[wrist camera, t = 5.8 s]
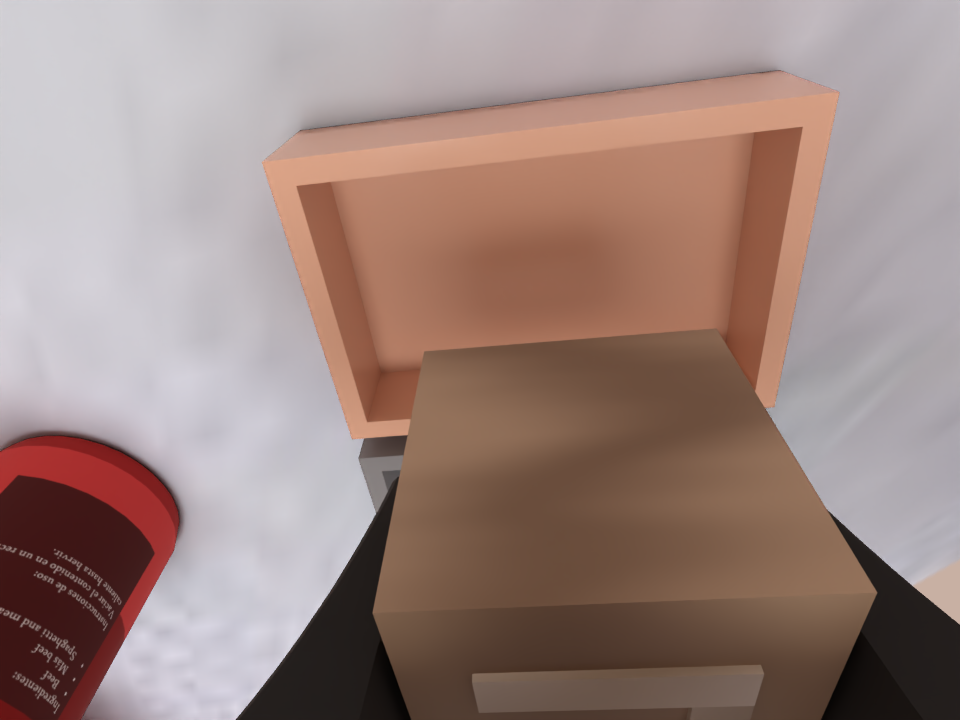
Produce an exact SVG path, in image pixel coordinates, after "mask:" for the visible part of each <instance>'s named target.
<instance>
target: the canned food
mask: <svg viewBox="0 0 960 720" xmlns="http://www.w3.org/2000/svg"><path fill="white" fill-rule="evenodd" d="M178 526H179V516H178V510H177V507H176V505H175V502H174V500H173V498H172V496H171V495H170V493H169V492H168V490H167V489H166V488H165V486H164V485H163V484H162V483H161V482H160V481H159V480H158V479H157V478H156V477H155V476H154V475H153V474H152V473H151V472H150V471H149V470H147V469H146V468H145V467H144V466H142V465H141V464H140V463H138V462H137V461H135V460H133V459H132V458H130V457H128V456H126V455H125V454H123V453H121V452H119V451H117V450H114V449H112V448H109V447H107V446H105V445H102V444H99V443H95V442H91V441H88V440H84V439H79V438H72V437H65V436H41V437H35V438H30V439H26V440H23V441H21V442H18V443H16V444H13V445H12V446H10V447H8V448H6V449H4V450H2V451H0V720H81V718H82V716H83V715H84V713H85V711H86V709H87V707H88V706H89V704H90V702H91V700H92V698H93V696H94V695H95V693H96V691H97V689H98V687H99V686H100V684H101V682H102V680H103V678H104V676H105V675H106V673H107V671H108V669H109V667H110V666H111V664H112V662H113V660H114V658H115V656H116V655H117V653H118V651H119V649H120V647H121V646H122V644H123V642H124V640H125V638H126V636H127V635H128V633H129V631H130V629H131V627H132V626H133V624H134V622H135V620H136V618H137V616H138V615H139V613H140V611H141V609H142V607H143V606H144V604H145V602H146V600H147V598H148V596H149V595H150V593H151V591H152V589H153V587H154V586H155V584H156V582H157V580H158V578H159V576H160V575H161V573H162V571H163V569H164V567H165V566H166V564H167V562H168V560H169V558H170V556H171V555H172V553H173V551H174V548H175V543H176V537H177V532H178Z"/></svg>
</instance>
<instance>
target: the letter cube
mask: <svg viewBox="0 0 960 720" xmlns="http://www.w3.org/2000/svg"><path fill="white" fill-rule="evenodd" d="M876 594H877V591H876V590H875V588H874V586H873V585H872V583H871V581H870V580H869V578H868V577H867V575H866V573H865V572H864V570H863V568H862V567H861V565H860V563H859V562H858V560H857V558H856V557H855V555H854V554H853V552H852V550H851V549H850V547H849V545H848V544H847V542H846V540H845V539H844V537H843V535H842V534H841V532H840V531H839V529H838V527H837V526H836V524H835V522H834V521H833V519H832V517H831V516H830V514H829V512H828V511H827V509H826V508H825V506H824V504H823V503H822V501H821V499H820V498H819V496H818V494H817V493H816V491H815V489H814V488H813V486H812V485H811V483H810V481H809V480H808V478H807V476H806V475H805V473H804V471H803V470H802V468H801V466H800V465H799V463H798V462H797V460H796V458H795V457H794V455H793V453H792V452H791V450H790V448H789V447H788V445H787V443H786V442H785V440H784V439H783V437H782V435H781V434H780V432H779V430H778V429H777V427H776V425H775V424H774V422H773V420H772V419H771V417H770V416H769V414H768V412H767V411H766V409H765V407H764V406H763V404H762V402H761V401H760V399H759V398H758V396H757V394H756V393H755V391H754V389H753V388H752V386H751V384H750V383H749V381H748V379H747V378H746V376H745V375H744V373H743V371H742V370H741V368H740V366H739V365H738V363H737V361H736V360H735V358H734V356H733V355H732V353H731V352H730V350H729V348H728V347H727V345H726V343H725V342H724V340H723V338H722V337H721V335H720V333H719V332H718V330H717V329H716V328H714V329H702V330H689V331H676V332H664V333H651V334H638V335H626V336H613V337H600V338H587V339H575V340H562V341H549V342H537V343H524V344H511V345H498V346H486V347H473V348H460V349H448V350H435V351H424V355H423V360H422V365H421V370H420V375H419V380H418V385H417V390H416V395H415V400H414V405H413V410H412V415H411V421H410V426H409V431H408V436H407V441H406V446H405V451H404V456H403V461H402V466H401V471H400V476H399V481H398V486H397V491H396V497H395V502H394V507H393V512H392V517H391V522H390V527H389V532H388V537H387V542H386V547H385V552H384V557H383V562H382V567H381V573H380V578H379V583H378V588H377V593H376V598H375V603H374V608H373V616H374V619H375V621H376V624H377V627H378V630H379V632H380V635H381V638H382V641H383V643H384V646H385V649H386V652H387V654H388V657H389V660H390V663H391V665H392V668H393V671H394V674H395V676H396V679H397V682H398V685H399V687H400V690H401V693H402V696H403V698H404V701H405V704H406V707H407V709H408V712H409V715H410V718H411V720H821V718H822V716H823V714H824V711H825V709H826V707H827V705H828V702H829V700H830V698H831V696H832V693H833V691H834V689H835V687H836V684H837V682H838V680H839V678H840V675H841V673H842V671H843V669H844V666H845V664H846V662H847V660H848V657H849V655H850V653H851V651H852V648H853V646H854V644H855V642H856V639H857V637H858V635H859V633H860V630H861V628H862V626H863V624H864V621H865V619H866V617H867V615H868V612H869V610H870V608H871V606H872V603H873V601H874V599H875V597H876Z"/></svg>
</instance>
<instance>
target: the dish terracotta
mask: <svg viewBox="0 0 960 720" xmlns="http://www.w3.org/2000/svg"><path fill="white" fill-rule="evenodd" d="M838 97H839V92H838V91H835V90H833V89H830V88H827V87H824V86H822V85H819V84H816V83H813V82H811V81H808V80H805V79H802V78H800V77H797V76H794V75H791V74H789V73H786V72H783V71H780V70H778V71H770V72H762V73H754V74H746V75H738V76H730V77H722V78H714V79H706V80H699V81H691V82H683V83H675V84H667V85H659V86H651V87H643V88H635V89H627V90H619V91H611V92H603V93H595V94H587V95H579V96H571V97H563V98H555V99H547V100H539V101H532V102H524V103H516V104H508V105H500V106H492V107H484V108H476V109H468V110H460V111H452V112H444V113H436V114H428V115H420V116H412V117H404V118H396V119H388V120H380V121H372V122H365V123H357V124H349V125H341V126H333V127H325V128H317V129H309V130H301V131H299V132H298V133H297V134H295V135H294V136H293V137H292V138H291V139H289V140H288V141H287V142H286V143H285V144H283V145H282V146H281V147H280V148H278V149H277V150H276V151H275V152H274V153H272V154H271V155H270V156H269V157H268V158H266V159H265V160H264V161H263V162H262V164H263V167H264V170H265V173H266V176H267V179H268V182H269V185H270V189H271V192H272V195H273V198H274V201H275V204H276V207H277V210H278V213H279V216H280V219H281V222H282V225H283V228H284V232H285V235H286V238H287V241H288V244H289V247H290V250H291V253H292V256H293V259H294V262H295V265H296V268H297V271H298V274H299V278H300V281H301V284H302V287H303V290H304V293H305V296H306V299H307V302H308V305H309V308H310V311H311V314H312V317H313V321H314V324H315V327H316V330H317V333H318V336H319V339H320V342H321V345H322V348H323V351H324V354H325V357H326V360H327V364H328V367H329V370H330V373H331V376H332V379H333V382H334V385H335V388H336V391H337V394H338V397H339V400H340V403H341V406H342V410H343V413H344V416H345V419H346V422H347V425H348V428H349V431H350V434H351V437H352V439H361V438H375V437H388V436H401V435H408V431H409V426H410V421H411V415H412V410H413V405H414V400H415V395H416V390H417V385H418V380H419V375H420V370H421V365H422V360H423V355H424V351H435V350H448V349H460V348H473V347H486V346H498V345H511V344H524V343H537V342H549V341H562V340H575V339H587V338H600V337H613V336H626V335H638V334H651V333H664V332H676V331H689V330H702V329H714V328H716V329H717V330H718V332H719V333H720V335H721V337H722V338H723V340H724V342H725V343H726V345H727V347H728V348H729V350H730V352H731V353H732V355H733V356H734V358H735V360H736V361H737V363H738V365H739V366H740V368H741V370H742V371H743V373H744V375H745V376H746V378H747V379H748V381H749V383H750V384H751V386H752V388H753V389H754V391H755V393H756V394H757V396H758V398H759V399H760V401H761V402H762V404H763V406H764V407H765V408H769V407H774V406H775V401H776V396H777V392H778V387H779V382H780V377H781V372H782V367H783V363H784V358H785V353H786V348H787V343H788V338H789V334H790V329H791V324H792V319H793V314H794V309H795V305H796V300H797V295H798V290H799V285H800V280H801V276H802V271H803V266H804V261H805V256H806V251H807V247H808V242H809V237H810V232H811V227H812V222H813V218H814V213H815V208H816V203H817V198H818V193H819V189H820V184H821V179H822V174H823V169H824V164H825V160H826V155H827V150H828V145H829V140H830V135H831V131H832V126H833V121H834V116H835V111H836V106H837V102H838Z"/></svg>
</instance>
